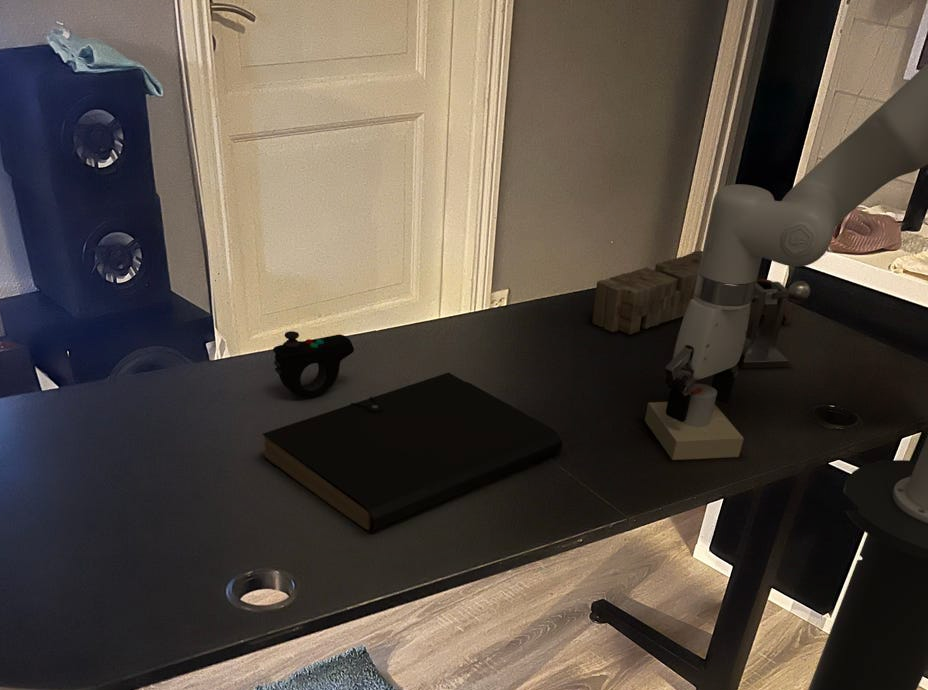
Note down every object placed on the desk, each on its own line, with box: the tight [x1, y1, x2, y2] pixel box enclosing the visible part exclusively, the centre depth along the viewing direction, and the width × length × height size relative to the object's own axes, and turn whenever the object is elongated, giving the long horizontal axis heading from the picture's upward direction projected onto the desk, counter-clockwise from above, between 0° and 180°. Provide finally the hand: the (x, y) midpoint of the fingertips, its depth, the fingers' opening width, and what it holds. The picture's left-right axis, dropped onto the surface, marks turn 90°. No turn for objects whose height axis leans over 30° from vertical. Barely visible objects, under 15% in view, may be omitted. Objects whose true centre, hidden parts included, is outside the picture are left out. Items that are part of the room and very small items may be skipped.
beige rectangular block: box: [644, 401, 745, 461], centre depth 140 cm, size 12×10×3 cm
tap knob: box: [684, 383, 717, 426], centre depth 138 cm, size 4×4×5 cm
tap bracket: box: [739, 281, 789, 369], centre depth 162 cm, size 10×8×12 cm
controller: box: [272, 330, 355, 399], centre depth 144 cm, size 4×12×10 cm, turn 124°
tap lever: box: [764, 280, 811, 306], centre depth 155 cm, size 13×3×3 cm, turn 10°
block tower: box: [592, 250, 703, 336], centre depth 177 cm, size 8×8×29 cm
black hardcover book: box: [262, 372, 563, 532], centre depth 132 cm, size 33×4×24 cm
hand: (697, 409), depth 138 cm, fingers open, 9 cm apart
